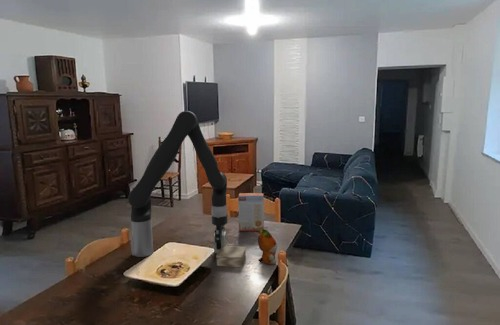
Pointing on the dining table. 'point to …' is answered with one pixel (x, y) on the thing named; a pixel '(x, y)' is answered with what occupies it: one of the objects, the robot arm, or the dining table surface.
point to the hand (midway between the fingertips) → (220, 245)
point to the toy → (267, 247)
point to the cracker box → (251, 211)
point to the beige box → (231, 256)
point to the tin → (223, 241)
